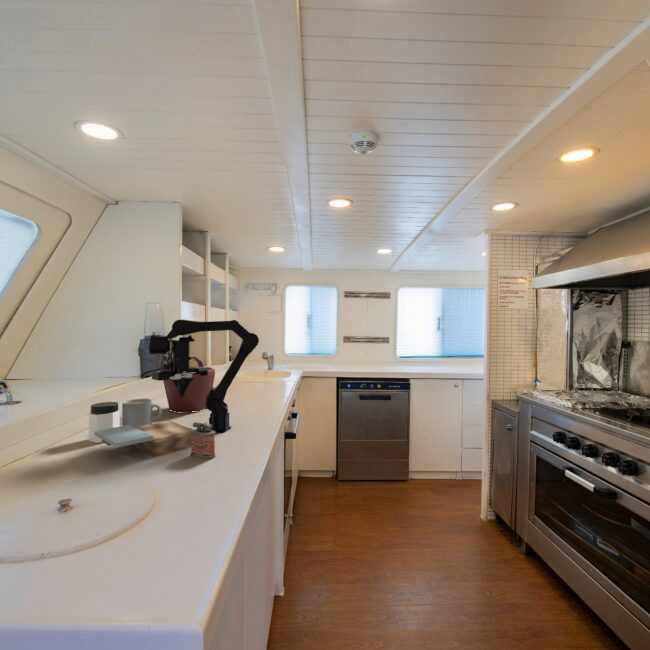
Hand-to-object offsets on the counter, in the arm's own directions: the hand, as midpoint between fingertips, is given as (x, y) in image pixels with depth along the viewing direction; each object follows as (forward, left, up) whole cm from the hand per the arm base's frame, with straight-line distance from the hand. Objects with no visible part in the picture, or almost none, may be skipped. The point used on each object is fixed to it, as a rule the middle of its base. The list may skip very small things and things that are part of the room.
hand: (181, 397), depth 128 cm
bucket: (+19, -35, -13) cm, 42 cm away
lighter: (-20, +20, -13) cm, 31 cm away
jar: (+22, +11, -13) cm, 28 cm away
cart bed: (-1, +13, -13) cm, 18 cm away
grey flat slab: (+2, +18, -8) cm, 20 cm away
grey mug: (+20, -5, -13) cm, 25 cm away
